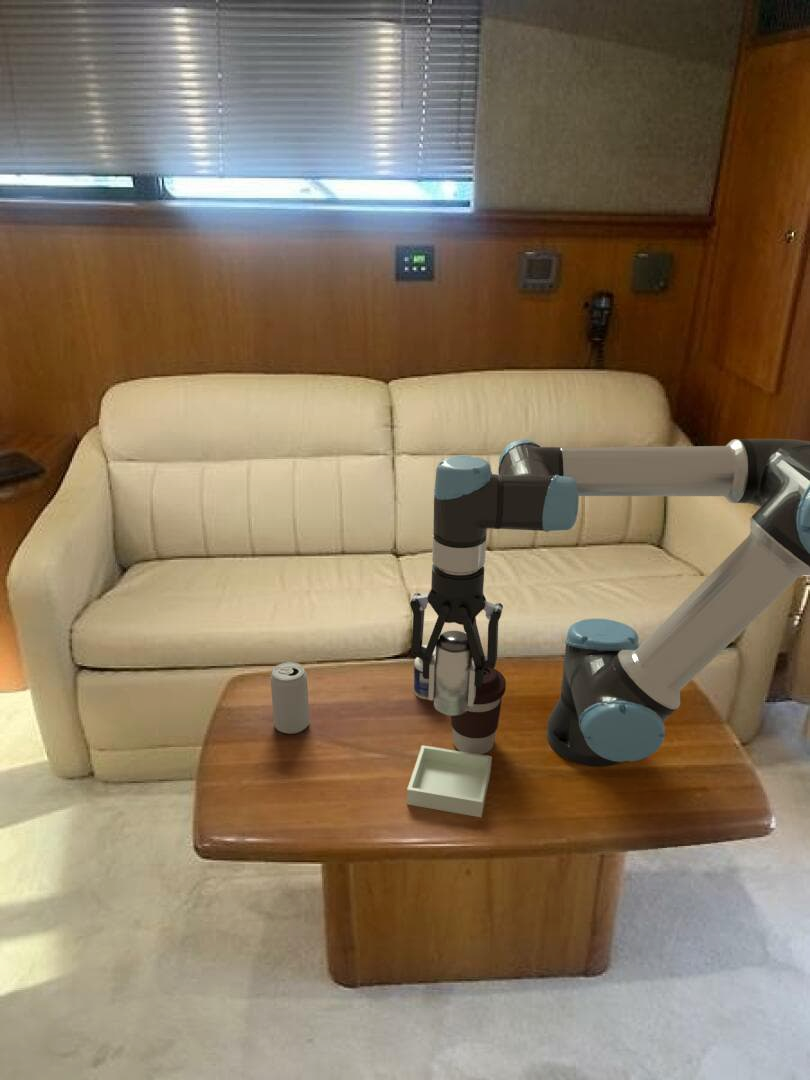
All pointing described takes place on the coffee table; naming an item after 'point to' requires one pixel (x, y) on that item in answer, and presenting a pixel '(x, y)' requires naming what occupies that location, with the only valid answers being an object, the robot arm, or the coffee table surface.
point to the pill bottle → (421, 678)
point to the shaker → (452, 673)
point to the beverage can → (290, 697)
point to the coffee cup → (480, 716)
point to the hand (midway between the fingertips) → (451, 697)
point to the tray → (450, 781)
